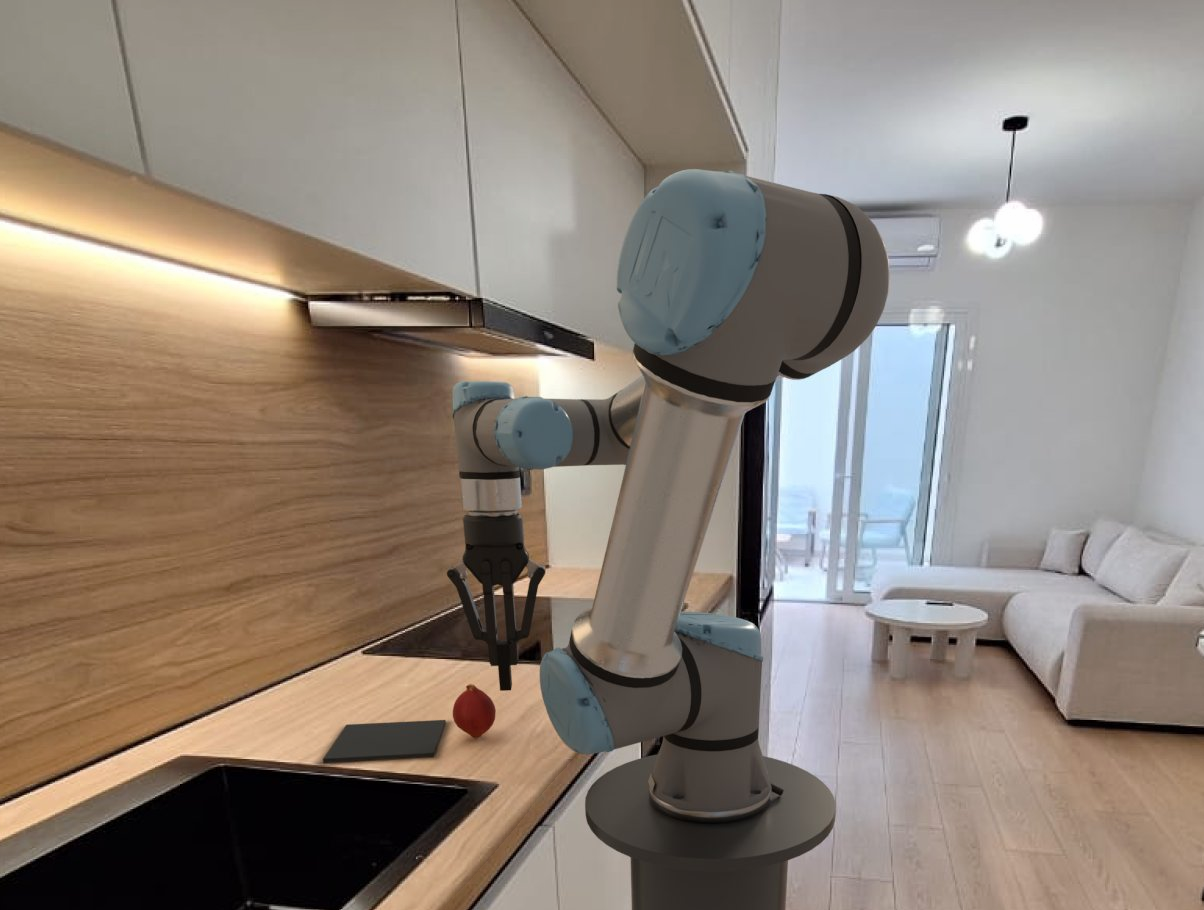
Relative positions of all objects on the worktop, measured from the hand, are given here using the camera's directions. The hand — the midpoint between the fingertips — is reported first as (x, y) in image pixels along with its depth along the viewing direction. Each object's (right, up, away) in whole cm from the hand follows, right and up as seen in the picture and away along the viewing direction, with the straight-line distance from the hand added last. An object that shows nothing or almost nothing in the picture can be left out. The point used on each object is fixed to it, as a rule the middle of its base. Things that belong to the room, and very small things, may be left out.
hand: (506, 687), depth 112 cm
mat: (-16, -8, 0) cm, 18 cm away
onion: (-4, -7, +2) cm, 9 cm away
